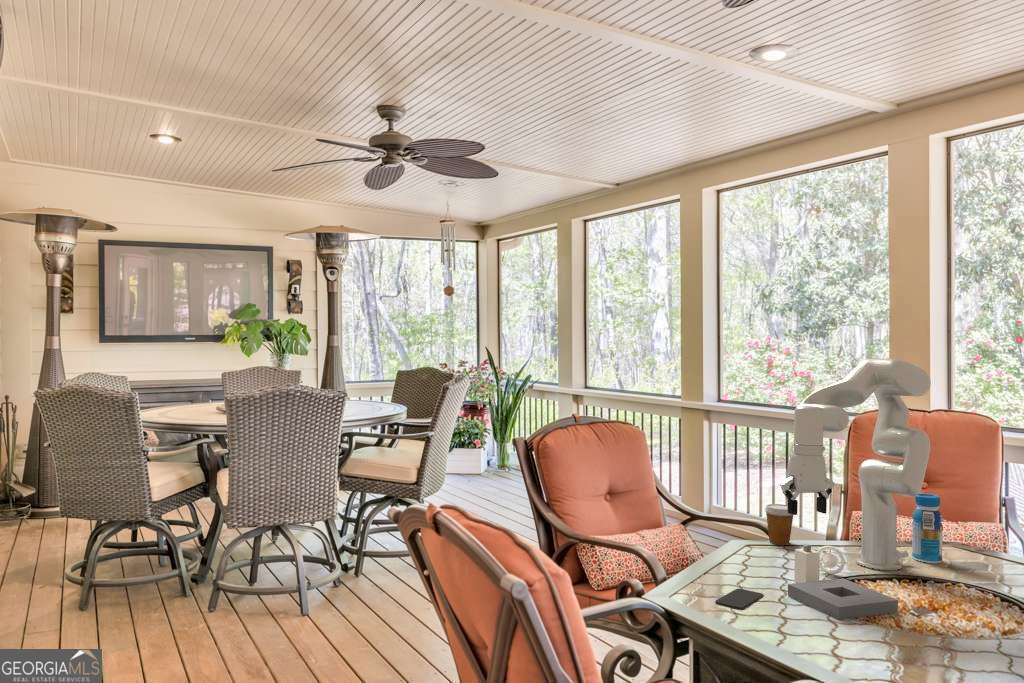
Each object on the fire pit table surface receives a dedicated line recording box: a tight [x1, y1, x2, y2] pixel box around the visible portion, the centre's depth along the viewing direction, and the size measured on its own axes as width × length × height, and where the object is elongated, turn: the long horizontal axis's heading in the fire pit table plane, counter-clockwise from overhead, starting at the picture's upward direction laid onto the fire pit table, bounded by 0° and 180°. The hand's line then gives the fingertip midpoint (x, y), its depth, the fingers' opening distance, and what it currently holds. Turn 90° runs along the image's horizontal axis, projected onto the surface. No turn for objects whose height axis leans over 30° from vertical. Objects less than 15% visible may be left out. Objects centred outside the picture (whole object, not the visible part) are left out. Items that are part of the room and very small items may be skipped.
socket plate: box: [787, 578, 899, 621], centre depth 187 cm, size 18×18×3 cm
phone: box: [714, 588, 764, 611], centre depth 189 cm, size 7×1×15 cm
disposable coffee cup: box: [764, 503, 794, 546], centre depth 247 cm, size 10×10×12 cm
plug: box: [793, 543, 821, 583], centre depth 203 cm, size 4×4×10 cm
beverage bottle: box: [911, 493, 944, 564], centre depth 228 cm, size 8×8×20 cm
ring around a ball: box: [816, 545, 846, 575], centre depth 212 cm, size 8×6×8 cm
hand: (807, 513), depth 203 cm, fingers open, 9 cm apart
